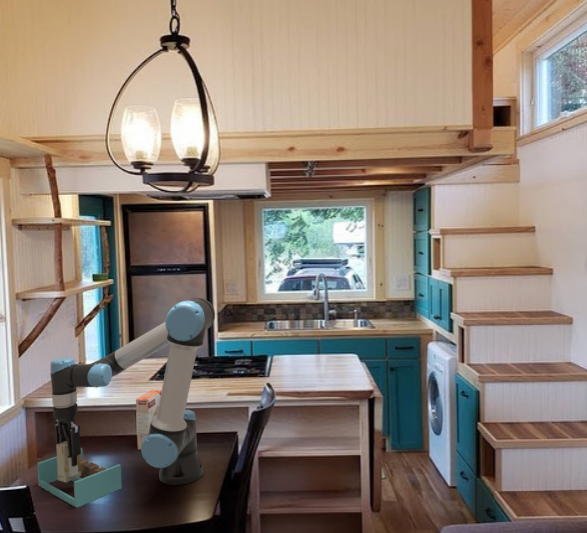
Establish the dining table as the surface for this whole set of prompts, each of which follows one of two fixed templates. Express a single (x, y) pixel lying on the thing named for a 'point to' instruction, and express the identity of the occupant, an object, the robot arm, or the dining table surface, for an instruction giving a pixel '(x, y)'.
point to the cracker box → (146, 413)
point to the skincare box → (65, 463)
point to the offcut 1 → (82, 467)
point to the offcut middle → (89, 469)
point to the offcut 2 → (99, 470)
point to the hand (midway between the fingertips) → (69, 472)
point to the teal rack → (80, 482)
